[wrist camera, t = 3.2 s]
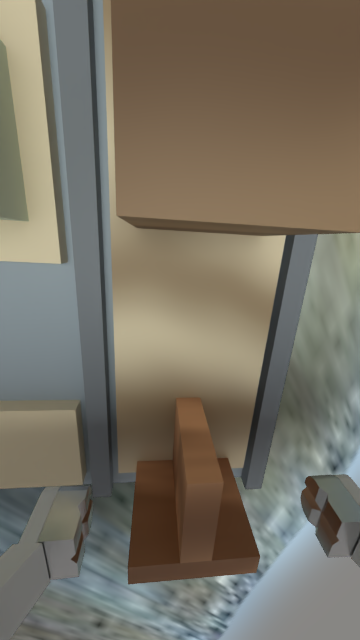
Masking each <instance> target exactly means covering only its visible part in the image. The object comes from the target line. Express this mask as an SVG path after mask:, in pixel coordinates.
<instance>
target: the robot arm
mask: <svg viewBox="0 0 360 640" xmlns="http://www.w3.org/2000/svg"><path fill="white" fill-rule="evenodd" d="M305 484H306V486H307V487H306V488H305V489H304V490H303V491H302V494H301V504H302V508H303V511H304V513H305V515H306V517H307V519H308V521H309V522H310V523H311V524H313V525H314V526H315V527H316V536H317V538H318V540H319V542H320V544H321V546H322V548H323V550H324V552H325V553H326V555H327V557H329V558H330V557H351V559H352V560H353V561H354V562H355V563H356V564H357V565H358V566H359V567H360V489H359V487H358V486H357V485H356V484H355V482H354V481H353V480H352V479H351V478H350V477H349V476H348V475H344V474H342V475H318V476H308V477H307V478H306V480H305ZM91 494H92V490H91V486H55V487H45V489H44V490H43V491H42V492H41V495H40V497H39V499H38V501H37V503H36V505H35V508H34V510H33V512H32V514H31V516H30V518H29V521H28V523H27V525H26V527H25V529H24V532H23V534H22V536H21V538H20V540H19V542H18V544H13V545H12V546H11V547H10V548H9V549H8V550H7V551H6V552H5V553H4V554H3V555H2V556H1V557H0V640H10V639H11V637H12V636H13V634H14V633H15V632H16V630H17V629H18V627H19V626H20V624H21V623H22V622H23V620H24V619H25V617H26V616H27V615H28V613H29V612H30V610H31V609H32V607H33V606H34V605H35V603H36V602H37V600H38V599H39V597H40V596H41V595H42V593H43V592H44V590H45V589H46V587H47V586H48V585H49V583H50V580H54V579H63V578H72V577H79V574H80V570H81V565H82V561H83V557H84V553H85V544H84V539H85V538H86V537H87V536H88V534H89V532H90V527H91V522H92V515H93V501H92V500H91V499H90V497H91Z"/></svg>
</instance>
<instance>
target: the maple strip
mask: <svg viewBox="0 0 360 640" xmlns="http://www.w3.org/2000/svg"><path fill="white" fill-rule="evenodd" d="M103 21H104V51H105V81H106V111H107V141H108V171H109V201H110V231H111V261H112V291H113V322H114V352H115V382H116V412H117V442H118V472H119V473H135V472H136V481H135V492H134V504H133V515H132V526H131V538H130V549H129V561H128V584H136V583H147V582H158V581H169V580H180V579H191V578H202V577H213V576H224V575H235V574H246V573H256V571H257V567H258V563H259V559H260V554H259V551H258V548H257V545H256V542H255V539H254V536H253V533H252V530H251V527H250V524H249V521H248V518H247V515H246V512H245V509H244V505H243V502H242V499H241V496H240V493H239V490H238V487H237V484H236V481H235V478H234V475H233V472H232V469H231V468H243V466H244V461H245V455H246V450H247V445H248V439H249V434H250V428H251V423H252V417H253V412H254V407H255V401H256V396H257V390H258V385H259V379H260V374H261V369H262V363H263V358H264V352H265V347H266V341H267V336H268V331H269V325H270V320H271V314H272V309H273V303H274V298H275V293H276V287H277V282H278V276H279V271H280V265H281V260H282V255H283V249H284V244H285V238H286V235H279V236H253V235H237V234H221V233H205V232H190V231H174V230H158V229H142V228H136V227H134V226H133V225H131V224H129V223H128V222H126V221H124V220H123V219H121V218H119V217H118V216H116V186H115V147H114V108H113V69H112V30H111V0H103Z"/></svg>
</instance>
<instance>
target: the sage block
mask: <svg viewBox="0 0 360 640" xmlns="http://www.w3.org/2000/svg"><path fill="white" fill-rule="evenodd" d="M0 220H13V221H29V218H28V211H27V203H26V196H25V188H24V181H23V173H22V166H21V158H20V150H19V143H18V135H17V128H16V120H15V113H14V105H13V98H12V90H11V82H10V75H9V67H8V60H7V52H6V46H5V45H4V43H3V42H2V41H1V40H0Z"/></svg>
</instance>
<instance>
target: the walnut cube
mask: <svg viewBox="0 0 360 640" xmlns="http://www.w3.org/2000/svg"><path fill="white" fill-rule="evenodd" d="M111 30H112V69H113V108H114V147H115V186H116V216H118V217H119V218H121V219H123V220H124V221H126V222H128V223H129V224H131V225H133V226H134V227H136V228H142V229H158V230H174V231H190V232H205V233H221V234H237V235H253V236H279V235H308V234H336V233H360V0H111Z"/></svg>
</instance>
